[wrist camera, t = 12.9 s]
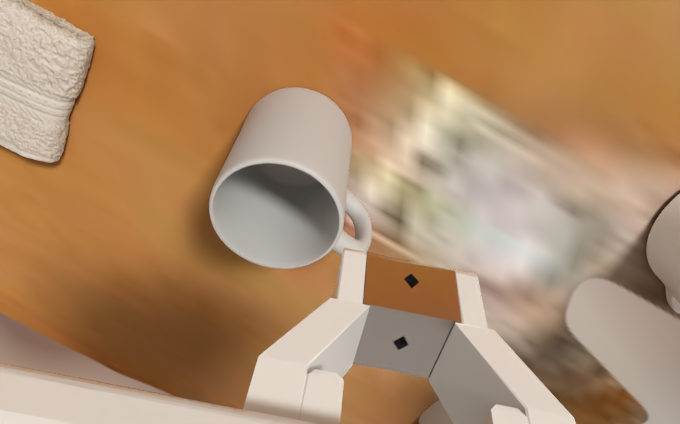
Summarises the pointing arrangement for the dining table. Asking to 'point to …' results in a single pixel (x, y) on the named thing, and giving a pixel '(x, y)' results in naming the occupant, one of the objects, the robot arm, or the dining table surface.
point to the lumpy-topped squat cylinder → (435, 415)
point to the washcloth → (39, 78)
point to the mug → (289, 183)
